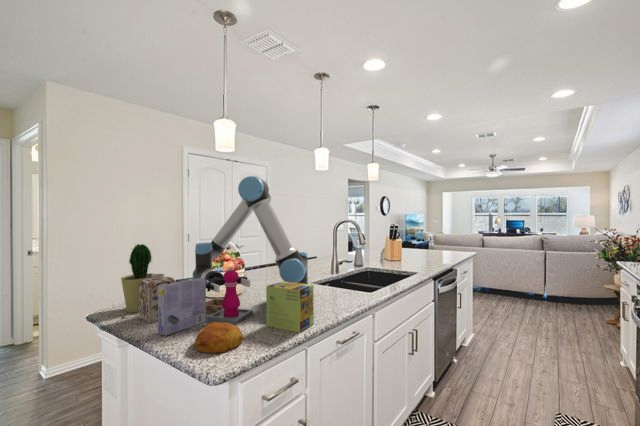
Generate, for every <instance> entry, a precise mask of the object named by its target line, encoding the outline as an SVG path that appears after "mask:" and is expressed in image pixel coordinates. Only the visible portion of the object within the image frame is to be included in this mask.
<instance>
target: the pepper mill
mask: <svg viewBox="0 0 640 426" xmlns="http://www.w3.org/2000/svg"><path fill="white" fill-rule="evenodd" d="M238 277H239V273H238V272H237V271H236V270H234V267H233V266H229V267H228V270H227V271H225V272H224V273H223V279H224V280H225V285H224V286H225V292H224V293H225V294H224V296H223V298H222V299H223V302H222V307H223V309H224V311H223V316H225V317H235V316H237V315H239V310H238V308H239V309H240V306H241V301H240V298H239V295H238V292H237V286H238V284H237V282H236V281H237V279H238Z"/></svg>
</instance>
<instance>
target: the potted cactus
mask: <svg viewBox="0 0 640 426" xmlns="http://www.w3.org/2000/svg"><path fill="white" fill-rule="evenodd" d="M131 250H132V251H131V252H130V255H129V259H128V260H129V261H128V264H130V266H129V267H130V268H131V273H132V274H129V275H125V276H122V277H121V278H120V279H121V285H122V291H123V297H124V301H125V308H126V312H127V311H128V313H139V285H140V283H141V282H142V281H143V280H145V279H148V278H152V275H153V274H154V273H150V272H149V271H148V269H151V268H150V267H149V265H150V264H152V263H153V260H152V259H153V256H152V255H153V254H152V249H150V248H149V247H148V246H147V245H146V244H140V243H139V244H138V243H137V244H135V245H134V247H133V248H131Z"/></svg>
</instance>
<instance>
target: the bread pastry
mask: <svg viewBox="0 0 640 426" xmlns="http://www.w3.org/2000/svg"><path fill="white" fill-rule="evenodd" d="M243 339H244V336H243V333H242V331H241V329H240V327H239V326H237V325H235V324H230V323H222V322H210V323H208V324H207V325H206V326H205V327H203V328H202V329H200V330H199V332H198V333H197V334H196V337H195V341H194V343H193V345H194V349H195V350H197V352H201V353H207V354H217V353H225V352H228V351H229V350H232V349H234V348H236V347H238V346H239V345H241V344H242V342H243Z"/></svg>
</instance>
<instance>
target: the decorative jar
mask: <svg viewBox="0 0 640 426" xmlns="http://www.w3.org/2000/svg"><path fill="white" fill-rule="evenodd" d="M175 282H176V280H175V278H173V277H171V276H165V274H164V273H153V275H152V278H148V279H145V280H143V281H142V282H141V283H140V285H139V312H138V317H139V318H141V319H142V320H144V321H146V322H147V323H149V324H152V323H156V322H157V323H158V286H159V285H165V284H170V283H175Z"/></svg>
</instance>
